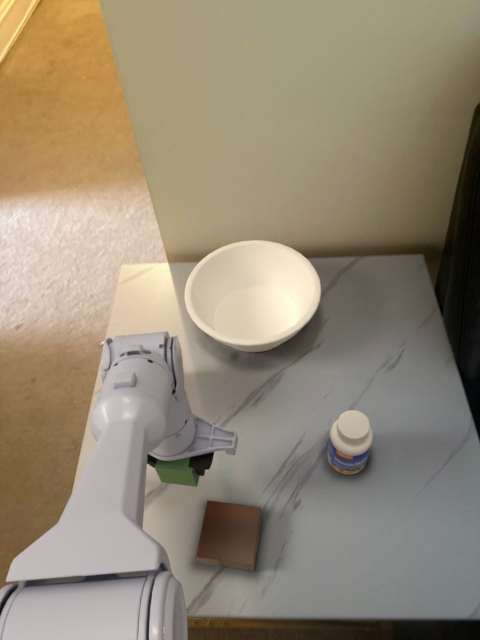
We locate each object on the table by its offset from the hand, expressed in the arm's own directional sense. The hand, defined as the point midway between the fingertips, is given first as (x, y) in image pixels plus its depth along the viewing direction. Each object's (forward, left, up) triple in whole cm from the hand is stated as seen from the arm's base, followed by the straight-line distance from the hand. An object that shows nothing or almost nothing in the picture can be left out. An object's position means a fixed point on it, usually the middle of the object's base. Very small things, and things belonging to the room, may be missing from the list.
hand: (182, 465), depth 69 cm
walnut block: (-5, -6, -9) cm, 12 cm away
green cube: (0, 0, -1) cm, 1 cm away
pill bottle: (+8, -20, -9) cm, 23 cm away
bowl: (+30, -4, -9) cm, 31 cm away
